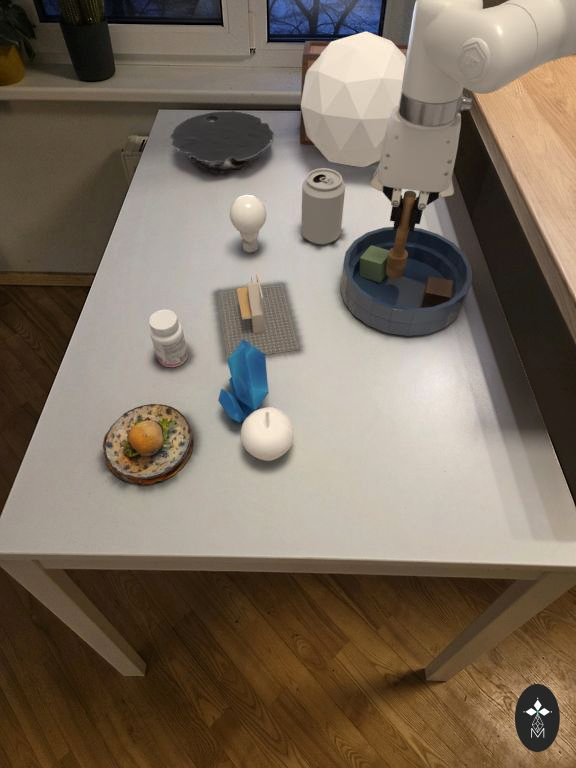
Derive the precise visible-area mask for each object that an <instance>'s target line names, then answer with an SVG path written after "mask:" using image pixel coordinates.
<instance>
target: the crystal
mask: <svg viewBox="0 0 576 768" xmlns="http://www.w3.org/2000/svg"><path fill="white" fill-rule="evenodd" d="M226 360H227V359H226ZM227 366H228V369H229V374H230V378H229V379H228V382H229V388H230V391H228V390H225V389H223V388H220V393H219V396H218V400H217V401H218V402H219V404H220V405H221V408H222V409H223V410H224V412H225V413H226V415H227V416H228V418H229V419H231V420H233V421H235V422H237V423H241V422H243V423H244V421H245V419H246V418H247V417H248V416H249V415H250V414H252V413H253V412H254V411H256V410H258V408H259V407H260V405H262V403H263V401H264V400H265V399H266V397H267V396H268V395H269V384H268V383H269V382H268V372H267V371H268V369H267V359H266V354H264V353H263V352H261V351H260V350H258V349H257V348H256V347H254V346H253V345H251V344H250V343H248V342H247V341H246V340H244V339H243V340H242V341H241V342H240V344H239V345H238V346H237V348H236V349H235V350H234V352H233V353H232V354H231V356H230V357H229V358H228V360H227Z"/></svg>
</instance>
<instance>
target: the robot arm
mask: <svg viewBox="0 0 576 768" xmlns="http://www.w3.org/2000/svg"><path fill="white" fill-rule="evenodd" d="M407 44H408V50H407V56H406V62H405V68H404V74H403V81H402V87H401V94H400V100H399V105H397V106H395V107H394V108H393V110H392V112H391V115H390V118H389V121H388V124H387V128H386V132H385V137H384V142H383V147H382V152H381V157H380V161H379V164H378V167H377V168H376V170H375V171H374V172H373V174H372V176H371V178H370V181H369V186H370V187H371V188H373V189H375V190H376V191H379V192H382V193H383V195H384V196H385V198H387V199H388V200H389V202H391V203H390V204H391V211H390V216H389V222H393V226H392V227H393V230H397V229H398V226H399V221H400V216H401V211H402V202H403V195H402V191H403V190H407V191H418V196H416V199H415V204H414V208H413V212H412V217H411V222H410V226H409V231H410V232H414V228H416V225H421V221H422V215H423V211H424V210H426V208H427V206H429V205H430V204H432V203H433V202H435V201H437V200H438V199H440V198H446V197H451V196H453V195H454V194H455V184H454V178H453V174H454V173H453V172H454V168H455V164H456V158H457V153H458V147H459V141H460V140H459V139H460V133H461V127H462V126H461V125H462V115H461V112H464V111H470V110H471V108H472V104H473V98H469V97H468V98H467V96H464V93H463V92H464V91H463V90H464V88H465V89H466V90H468V91H470V92H472V93H475V94H479V95H483V94H484V95H485V94H486V95H487V94H492V93H494V92H497V91H499V90H501V89H502V88H505V87H506V86H509V84H511V83H513V82H515V81H517V80H518V79H520V78H521V77H523V76H524V75H526V74H528V73H530V72H531V71H533V70H536V69H537V68H539V67H541V66H542V65H545V64H547V63H550V62H553V61H556V60H559V59H562V58H563V59H564V58H565V57H570V56H573V55H576V0H507V1H505V2H503V3H500V4H498V5H495V6H491V7H487V8H484V1H483V0H415V3H414V8H413V12H412V18H411V25H410V31H409V37H408V43H407Z"/></svg>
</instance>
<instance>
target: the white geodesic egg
mask: <svg viewBox="0 0 576 768" xmlns="http://www.w3.org/2000/svg"><path fill="white" fill-rule="evenodd" d="M407 50H408V43H407V44H404V43H394V42H393V41H392V40H390V39H388V38H385V37H383V36H381V35H380V36H379V35H378V34H374V33H372V32H368V31H363V32H360V33H357V34H353V35H349V36H346V37H342V38H339V39H336V40H333V41H322V40H320V41H319V40H306V41H304V46H303V50H302V59H301V88H300V89H301V91H300V118H299V119H300V120H299V146H313V147H316V148H317V150H318V151H319V152H320V153H321V154H322V155H323V156H324V157H325V159H326V160H327V162H329V163H334V164H340V165H344V166H350V167H359V168H366V167H368V166H370V165H372V164H375V163H378V162H380V157H381V152H382V147H383V142H384V137H385V132H386V128H387V124H388V121H389V118H390V115H391V112H392V110H393V108H394V107H395V106H397V105H399V100H400V94H401V87H402V81H403V74H404V68H405V62H406V56H407Z"/></svg>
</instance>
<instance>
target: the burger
mask: <svg viewBox="0 0 576 768" xmlns="http://www.w3.org/2000/svg"><path fill="white" fill-rule="evenodd" d="M194 440H195V439H194V433H193V430H192V427H191V426H190V423H189V422H188V419H187V418H186V416H185V415H184V413H182V412H180V411H179V410H178V409H176V408H175V407H173V406H170V405H167V404H159V403H158V404H157V403H149V404H143V405H140V406H137V407H134V408H132V409H129V410H128V411H126V412H124V413H123V414H122V415H121V416H120V417H119V418H118V419H117V420H116V421H115V422H114V423H113V424H112V425H110V427H109V429H108V430H107V432H106V433H105V435H104V438H103V441H102V449H103V451H104V458H105V460H106V462H107V466H108V467H109V469H110V470H111V471H112V473H113V474H114V475H115V476H116V477H117V478H118V479H121V480H122V481H123V482H130V483H137V484H140V485H142V486H143V485H152V484H154V483H155V482H163V481H165V480H168V479H169V478H171V477H172V476H174V475H175V474H177V473H178V472H179V471H180V470H181V469H182V468H183V467H184V466H185V465H186V463H187V462H188V461H189V458H190V456H191V455H192V453H193V448H194Z"/></svg>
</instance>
